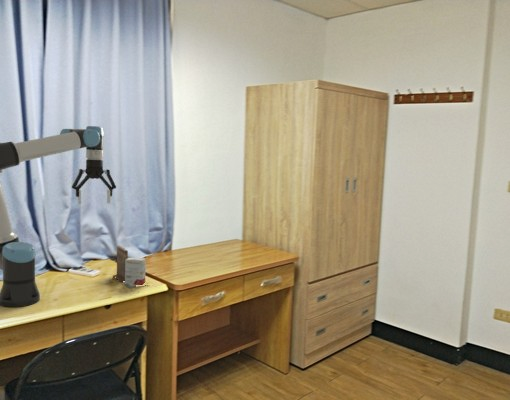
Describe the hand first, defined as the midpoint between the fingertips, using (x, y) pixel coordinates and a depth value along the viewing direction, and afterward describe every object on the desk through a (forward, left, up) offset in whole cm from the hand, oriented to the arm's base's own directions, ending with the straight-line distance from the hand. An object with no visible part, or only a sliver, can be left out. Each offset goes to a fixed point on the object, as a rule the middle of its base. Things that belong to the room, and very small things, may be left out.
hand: (94, 203), depth 223 cm
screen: (+12, -6, -37) cm, 39 cm away
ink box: (+15, -18, -36) cm, 43 cm away
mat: (+15, -18, -37) cm, 44 cm away
